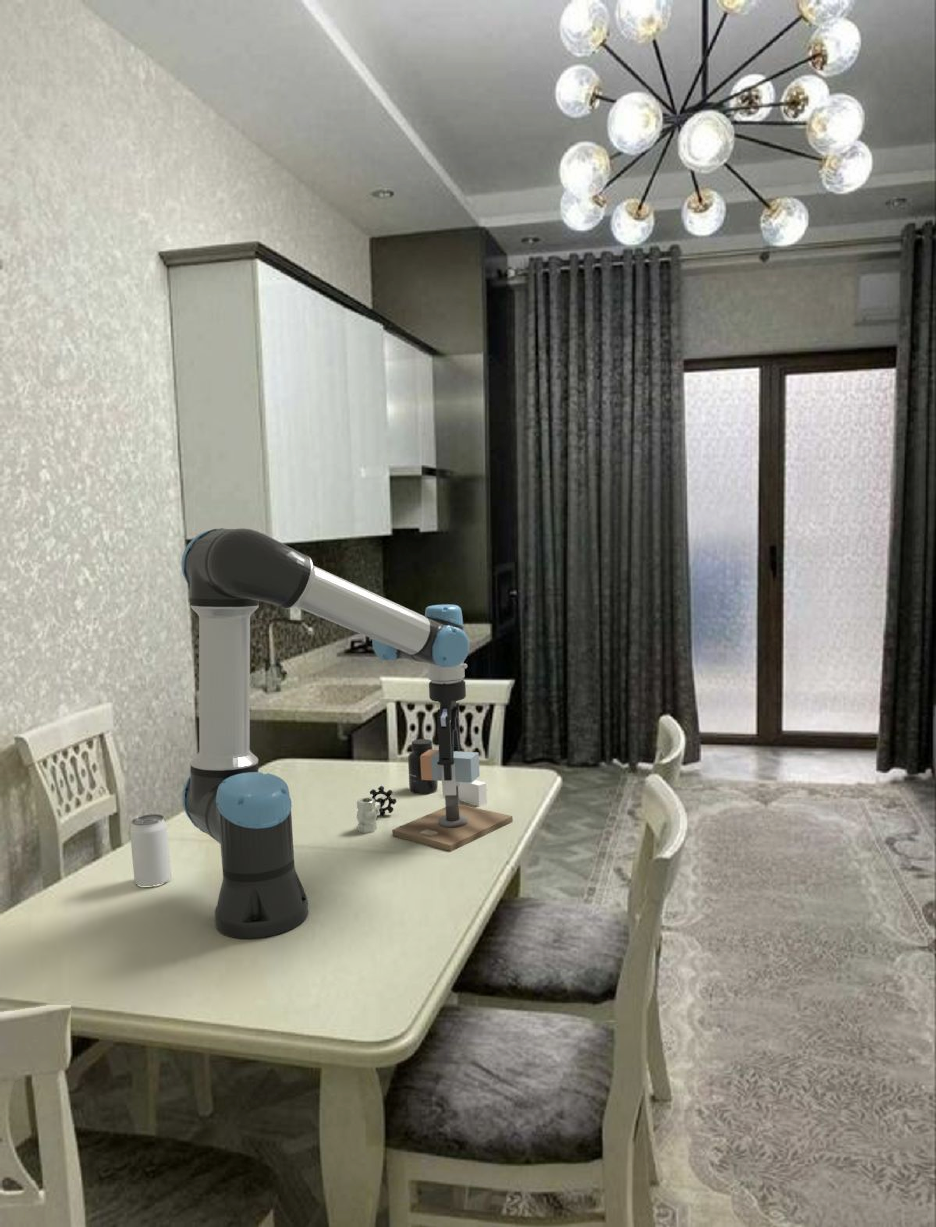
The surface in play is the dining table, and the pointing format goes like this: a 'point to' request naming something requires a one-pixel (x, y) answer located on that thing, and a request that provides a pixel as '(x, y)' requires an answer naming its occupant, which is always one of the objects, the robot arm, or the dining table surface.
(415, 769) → the supplement bottle
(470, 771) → the blue-orange block
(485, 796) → the white stepped block
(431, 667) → the robot arm
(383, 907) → the dining table surface
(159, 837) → the can
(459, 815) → the board
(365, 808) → the valve
